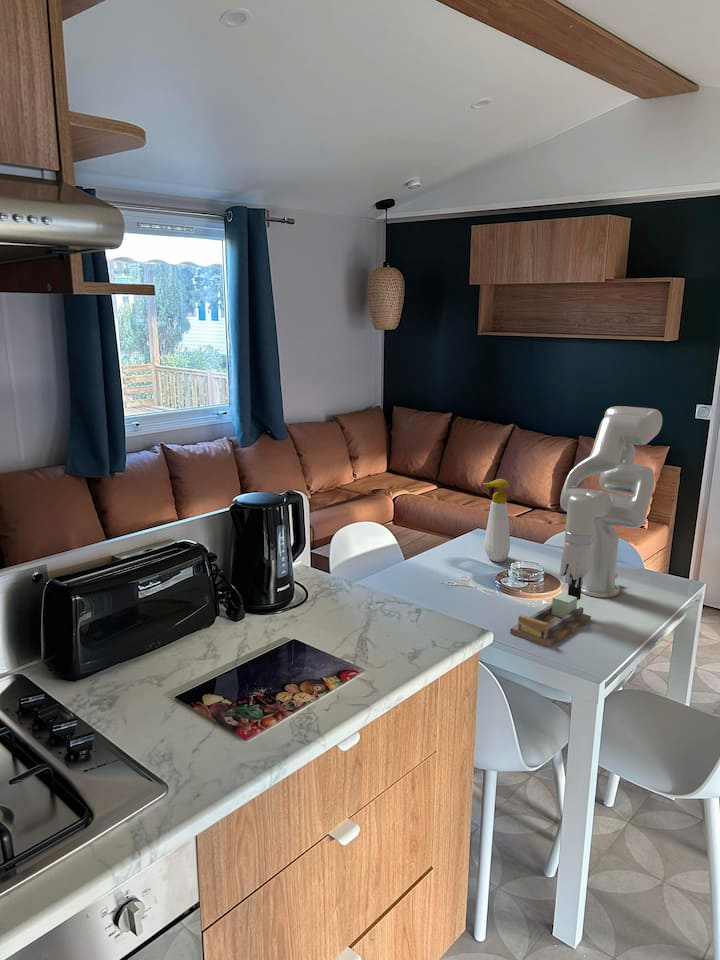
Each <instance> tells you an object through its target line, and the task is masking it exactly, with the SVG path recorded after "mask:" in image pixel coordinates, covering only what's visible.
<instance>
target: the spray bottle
mask: <svg viewBox="0 0 720 960" xmlns="http://www.w3.org/2000/svg"><path fill="white" fill-rule="evenodd" d="M482 486H484V487H486V488H487V487H488V488H497V491H496V492H494V493H493V494H492V501H491V502H490V507H489V514H488V520H487V525H486V531H485V536H484V546H483V547H484V550H485V553H486V556H487V558H489V560H491V561H493V562H496V563H501V562H504V561H506V559H507V558H508V556H509V554H510V550H511V549H510V548H511V541H510V540H511V536H510V524H509V523H510V522H509V510H508V509H509V507H508V502H507V499H508V498H507V497H508V496H507V494H506V493H505V492H503V489H505V488H506V489H507V488H509V487H510V484H509V482H508V481H507V480H506V479H503V478H496V479H495V480H492V481H490V482H483V483H482Z"/></svg>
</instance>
